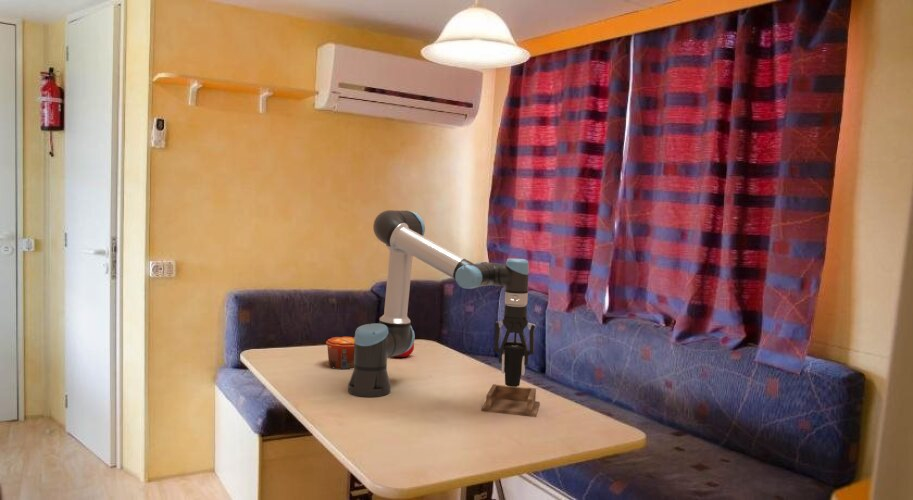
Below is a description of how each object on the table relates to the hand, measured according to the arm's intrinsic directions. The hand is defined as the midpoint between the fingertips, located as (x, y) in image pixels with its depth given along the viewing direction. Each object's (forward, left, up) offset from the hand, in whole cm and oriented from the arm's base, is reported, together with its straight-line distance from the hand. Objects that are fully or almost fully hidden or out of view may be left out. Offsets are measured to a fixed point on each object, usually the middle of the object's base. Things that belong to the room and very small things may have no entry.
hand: (513, 373), depth 218 cm
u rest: (0, 0, -12) cm, 12 cm away
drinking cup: (0, 0, -4) cm, 4 cm away
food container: (-73, +34, -12) cm, 82 cm away
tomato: (-58, +58, -12) cm, 83 cm away
